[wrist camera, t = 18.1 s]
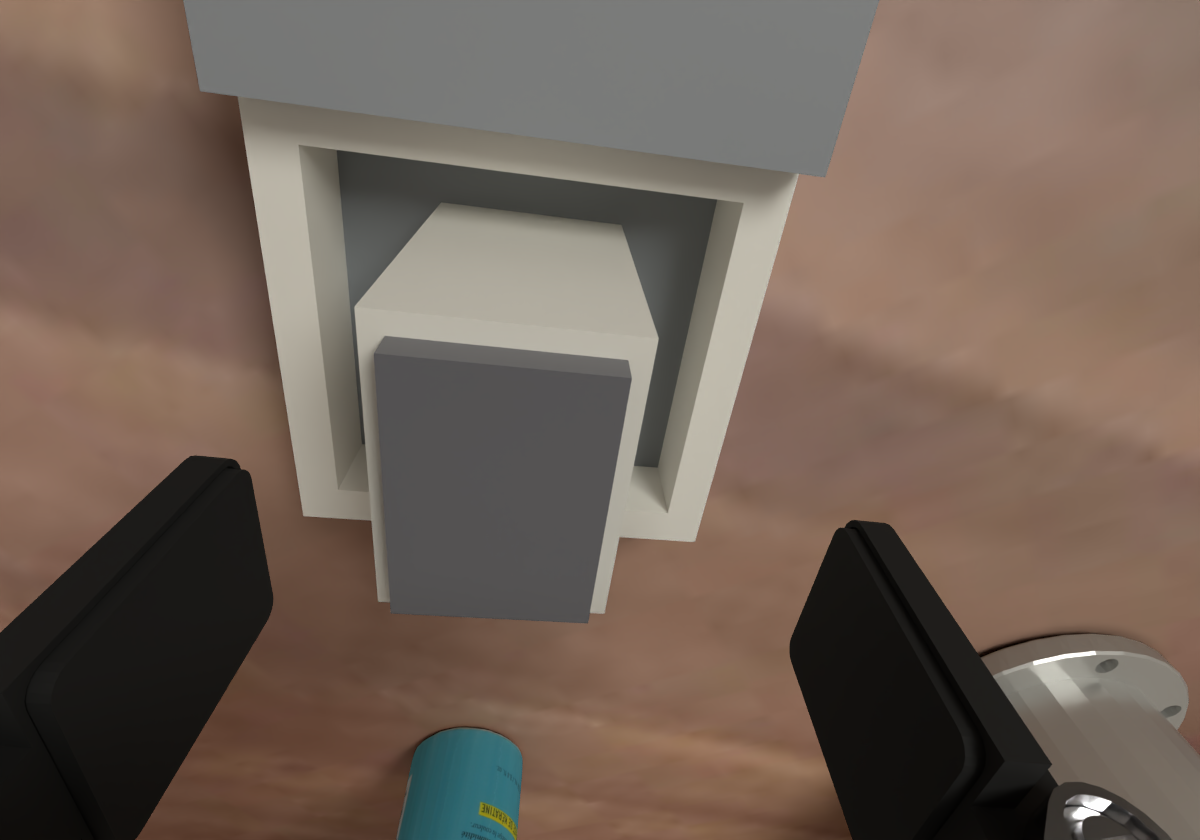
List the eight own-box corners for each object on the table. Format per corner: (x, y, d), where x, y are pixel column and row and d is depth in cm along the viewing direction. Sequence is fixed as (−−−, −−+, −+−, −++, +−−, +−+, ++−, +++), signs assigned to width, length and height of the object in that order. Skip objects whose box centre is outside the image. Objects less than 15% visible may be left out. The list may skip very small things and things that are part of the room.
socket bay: (680, 489, 20) (694, 541, 18) (333, 463, 19) (303, 515, 16) (1062, -1023, 8) (1259, -1451, 5) (117, -1390, 6) (-112, -2126, 4)
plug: (591, 428, 18) (605, 638, 12) (441, 415, 18) (369, 627, 11) (621, 225, 15) (664, 355, 8) (441, 202, 14) (340, 322, 8)
